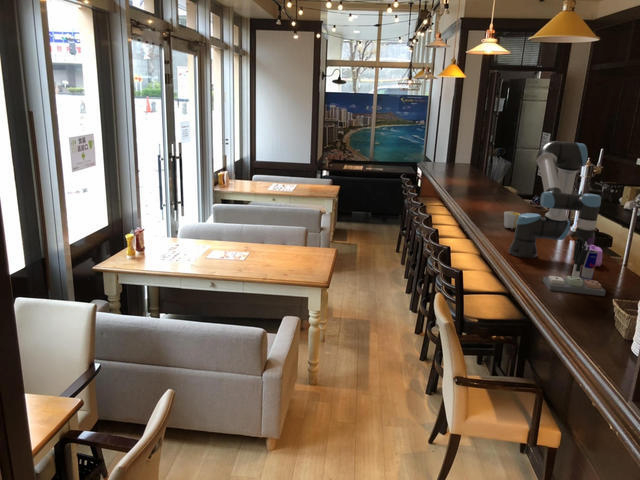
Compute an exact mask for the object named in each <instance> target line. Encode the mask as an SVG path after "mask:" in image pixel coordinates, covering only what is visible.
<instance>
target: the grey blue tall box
mask: <svg viewBox="0 0 640 480" xmlns="http://www.w3.org/2000/svg"><path fill="white" fill-rule="evenodd" d="M597 255H598V252H597V251H594V250H589V251H588V254H587V257H586V260H585V263H584V265H582V268H581V269H582V270H581V272H580V278H581V279H582V280H583V281H584V280H593V277H594V272H595V268H596V266H595V264H596V259H597Z"/></svg>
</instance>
